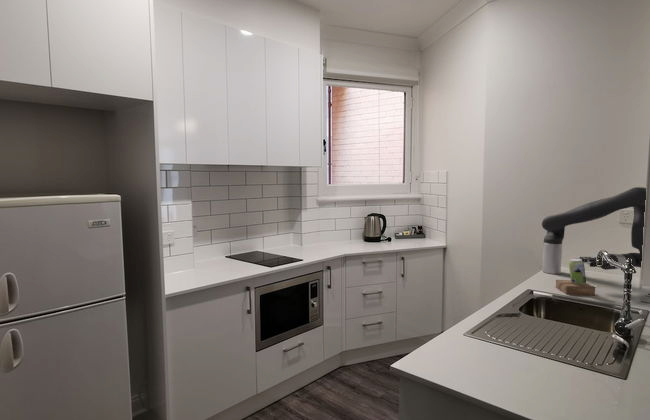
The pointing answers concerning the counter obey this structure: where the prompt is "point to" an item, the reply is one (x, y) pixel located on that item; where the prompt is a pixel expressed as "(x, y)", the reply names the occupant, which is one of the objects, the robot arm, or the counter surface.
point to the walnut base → (575, 288)
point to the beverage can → (577, 271)
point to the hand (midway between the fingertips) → (582, 262)
